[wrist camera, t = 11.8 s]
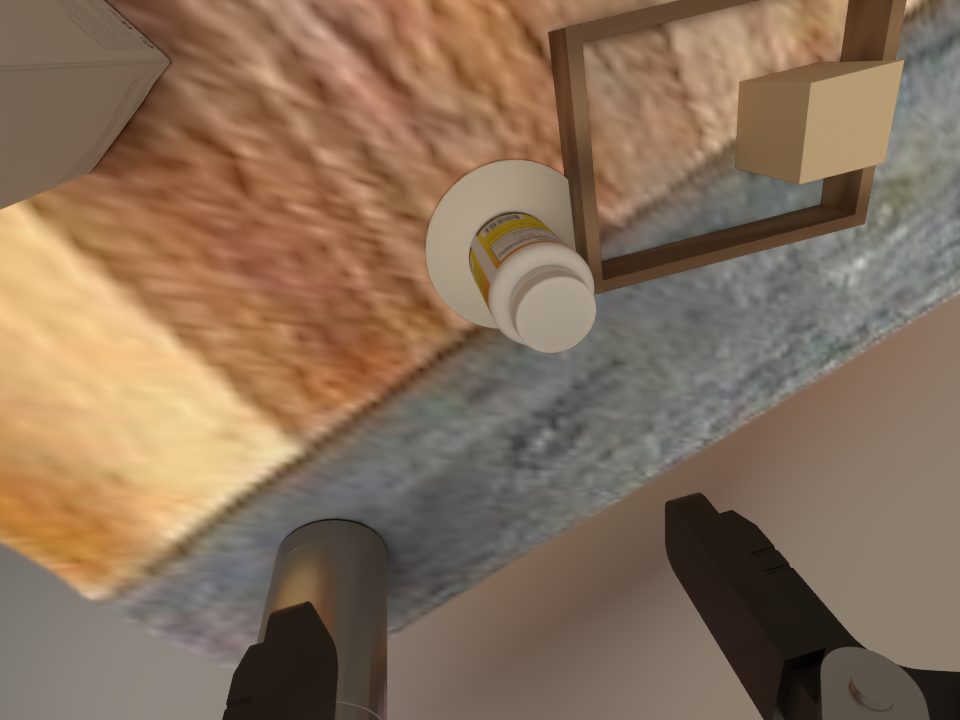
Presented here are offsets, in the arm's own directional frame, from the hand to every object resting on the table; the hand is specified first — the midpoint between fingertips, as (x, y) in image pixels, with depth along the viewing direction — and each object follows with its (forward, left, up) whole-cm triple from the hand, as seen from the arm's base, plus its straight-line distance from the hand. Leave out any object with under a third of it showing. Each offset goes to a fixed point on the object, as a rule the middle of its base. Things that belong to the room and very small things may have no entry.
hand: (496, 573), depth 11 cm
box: (+3, -23, -25) cm, 34 cm away
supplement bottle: (-1, -5, -24) cm, 25 cm away
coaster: (-1, -5, -24) cm, 25 cm away
